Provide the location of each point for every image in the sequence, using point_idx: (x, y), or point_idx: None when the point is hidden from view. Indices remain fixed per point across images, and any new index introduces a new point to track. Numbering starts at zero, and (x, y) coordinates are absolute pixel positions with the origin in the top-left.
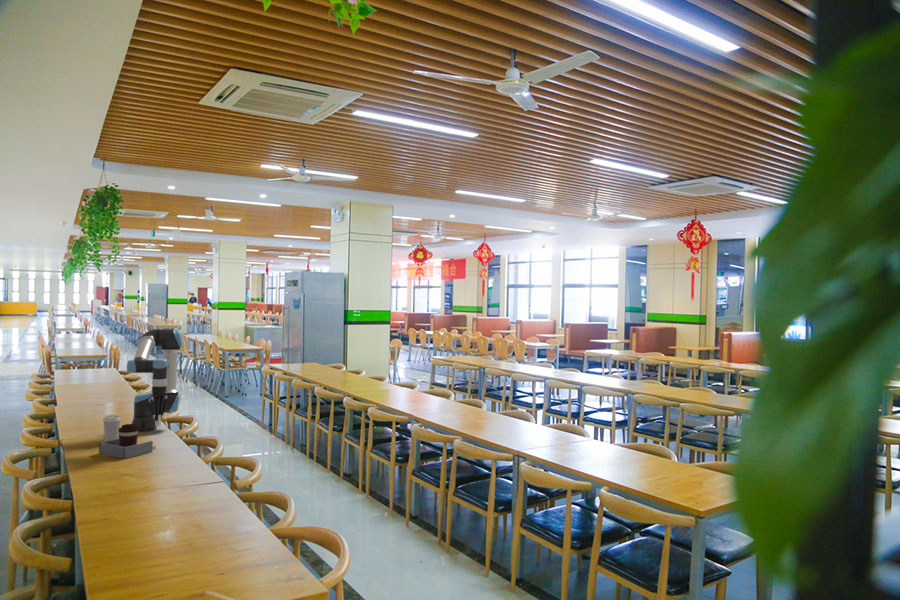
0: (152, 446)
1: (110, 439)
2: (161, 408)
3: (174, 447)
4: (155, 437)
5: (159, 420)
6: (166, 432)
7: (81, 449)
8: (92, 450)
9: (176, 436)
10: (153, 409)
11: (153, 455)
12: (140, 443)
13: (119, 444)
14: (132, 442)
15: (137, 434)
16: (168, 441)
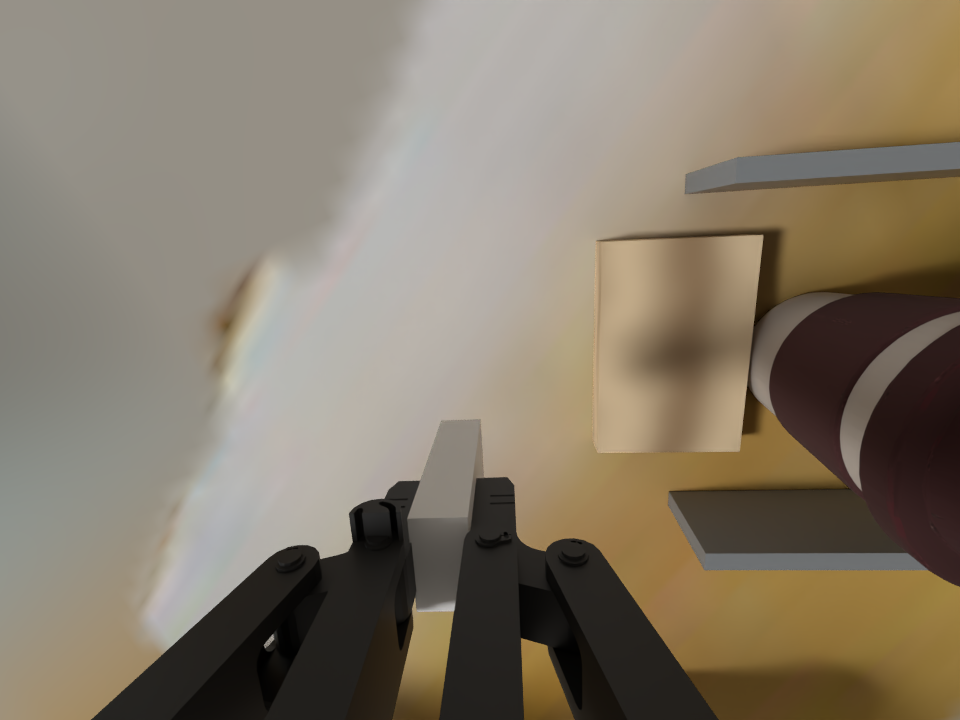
0: (643, 241)
1: None
2: (347, 650)
3: (443, 152)
4: None
5: (457, 459)
6: None
7: (900, 697)
8: (888, 619)
9: (203, 485)
10: (677, 667)
11: (783, 29)
12: (619, 438)
13: (792, 515)
14: (916, 295)
15: (893, 332)
16: (344, 396)
